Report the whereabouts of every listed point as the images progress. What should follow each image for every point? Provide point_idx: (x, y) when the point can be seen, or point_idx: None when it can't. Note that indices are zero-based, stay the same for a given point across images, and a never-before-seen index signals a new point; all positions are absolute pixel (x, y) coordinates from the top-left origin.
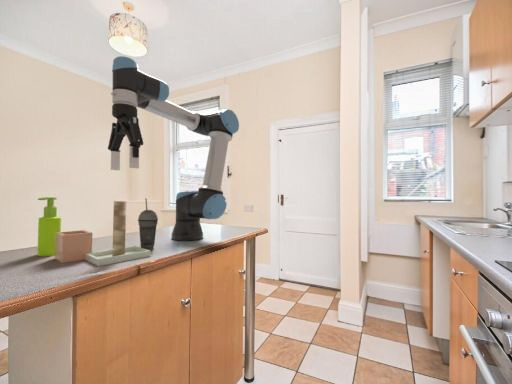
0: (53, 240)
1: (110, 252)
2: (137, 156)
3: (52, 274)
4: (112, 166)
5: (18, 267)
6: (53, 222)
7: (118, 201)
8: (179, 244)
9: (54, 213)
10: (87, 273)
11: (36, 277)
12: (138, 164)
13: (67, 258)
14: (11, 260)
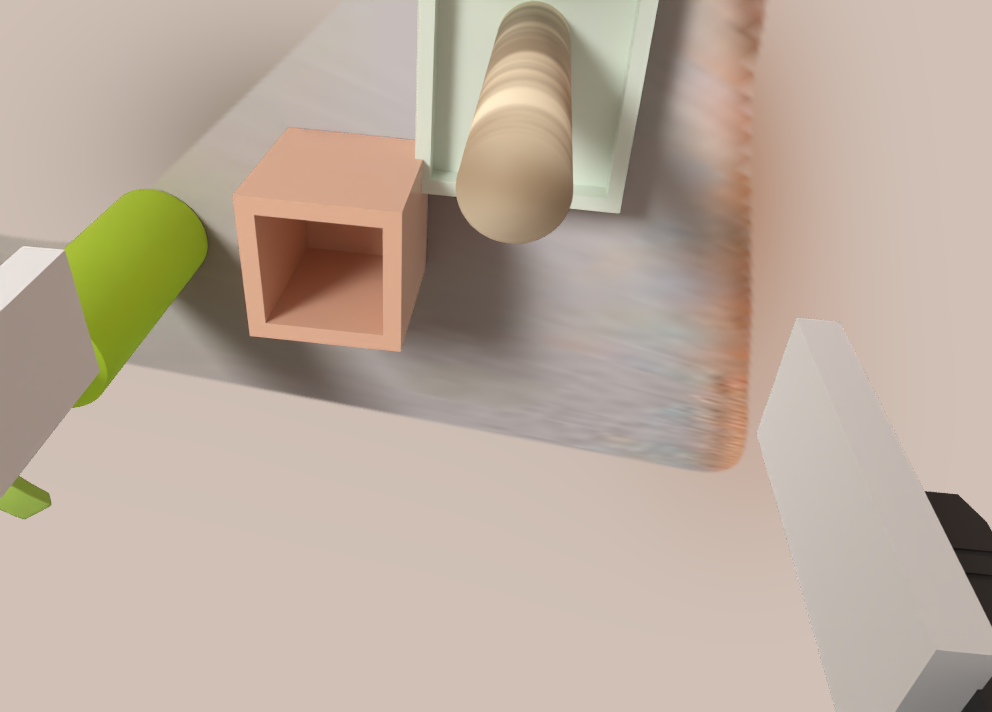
0: (166, 278)
1: (436, 48)
2: (964, 528)
3: (545, 332)
4: (71, 398)
5: (322, 367)
6: (117, 343)
7: (547, 223)
8: None
9: None
10: (654, 252)
11: (540, 373)
12: (858, 370)
13: (422, 262)
14: (155, 351)
